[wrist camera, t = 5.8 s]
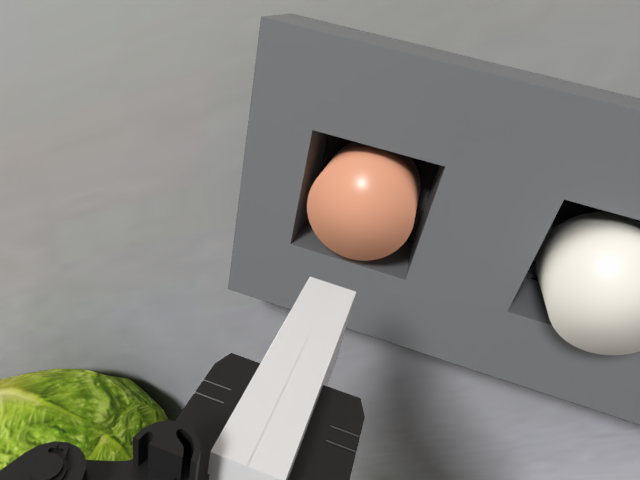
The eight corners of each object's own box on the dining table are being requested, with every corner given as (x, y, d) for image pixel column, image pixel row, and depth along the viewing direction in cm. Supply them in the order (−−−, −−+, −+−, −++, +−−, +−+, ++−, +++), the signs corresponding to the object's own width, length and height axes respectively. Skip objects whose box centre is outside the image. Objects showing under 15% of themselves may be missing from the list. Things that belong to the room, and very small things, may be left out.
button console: (1109, 213, 18) (1275, 268, 15) (843, 441, 25) (909, 518, 22) (290, 13, 23) (258, 17, 19) (254, 255, 30) (225, 291, 26)
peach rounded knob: (433, 153, 23) (429, 177, 20) (404, 239, 26) (397, 273, 22) (336, 126, 24) (318, 146, 21) (318, 213, 26) (298, 242, 23)
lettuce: (-125, 358, 36) (-150, 548, 35) (78, 398, 27) (55, 654, 26) (36, 342, 48) (22, 483, 46) (214, 366, 39) (203, 541, 38)
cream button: (679, 230, 20) (720, 273, 17) (620, 318, 23) (646, 370, 20) (563, 198, 21) (581, 234, 18) (518, 287, 24) (527, 332, 20)
